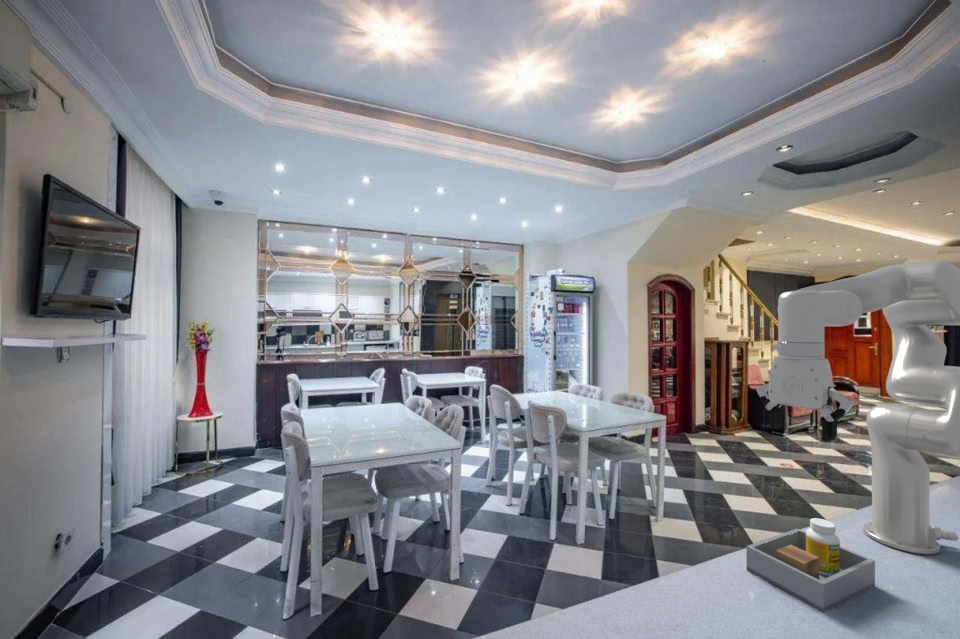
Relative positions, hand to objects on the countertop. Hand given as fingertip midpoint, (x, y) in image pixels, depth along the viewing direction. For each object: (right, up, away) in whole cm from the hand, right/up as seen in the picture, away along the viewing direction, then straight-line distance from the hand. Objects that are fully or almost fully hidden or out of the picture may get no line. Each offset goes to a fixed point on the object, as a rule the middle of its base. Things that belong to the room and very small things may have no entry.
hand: (800, 434), depth 85 cm
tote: (0, -28, -2) cm, 28 cm away
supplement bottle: (+4, -28, 0) cm, 28 cm away
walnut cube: (-4, -28, -4) cm, 28 cm away
